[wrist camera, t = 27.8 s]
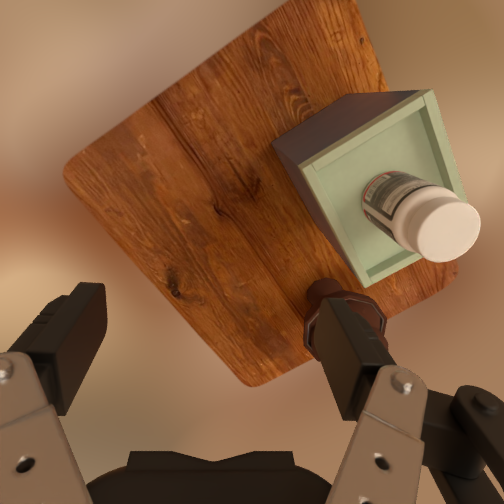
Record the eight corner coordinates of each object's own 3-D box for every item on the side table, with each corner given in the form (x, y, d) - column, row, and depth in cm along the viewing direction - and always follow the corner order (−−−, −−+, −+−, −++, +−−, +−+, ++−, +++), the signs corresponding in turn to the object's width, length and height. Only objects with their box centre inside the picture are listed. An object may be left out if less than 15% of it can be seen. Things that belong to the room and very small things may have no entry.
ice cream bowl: (335, 247, 48) (380, 306, 34) (371, 298, 52) (423, 368, 38) (276, 288, 50) (296, 358, 36) (314, 333, 54) (345, 412, 40)
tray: (297, 165, 26) (301, 169, 25) (420, 89, 25) (433, 88, 23) (358, 280, 31) (364, 288, 30) (464, 222, 30) (476, 229, 28)
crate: (270, 142, 41) (297, 165, 26) (347, 93, 39) (420, 89, 25) (315, 223, 46) (358, 280, 31) (384, 182, 44) (464, 222, 30)
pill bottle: (414, 218, 29) (483, 260, 21) (361, 229, 29) (411, 275, 21) (416, 163, 27) (493, 188, 19) (358, 175, 27) (412, 205, 19)
